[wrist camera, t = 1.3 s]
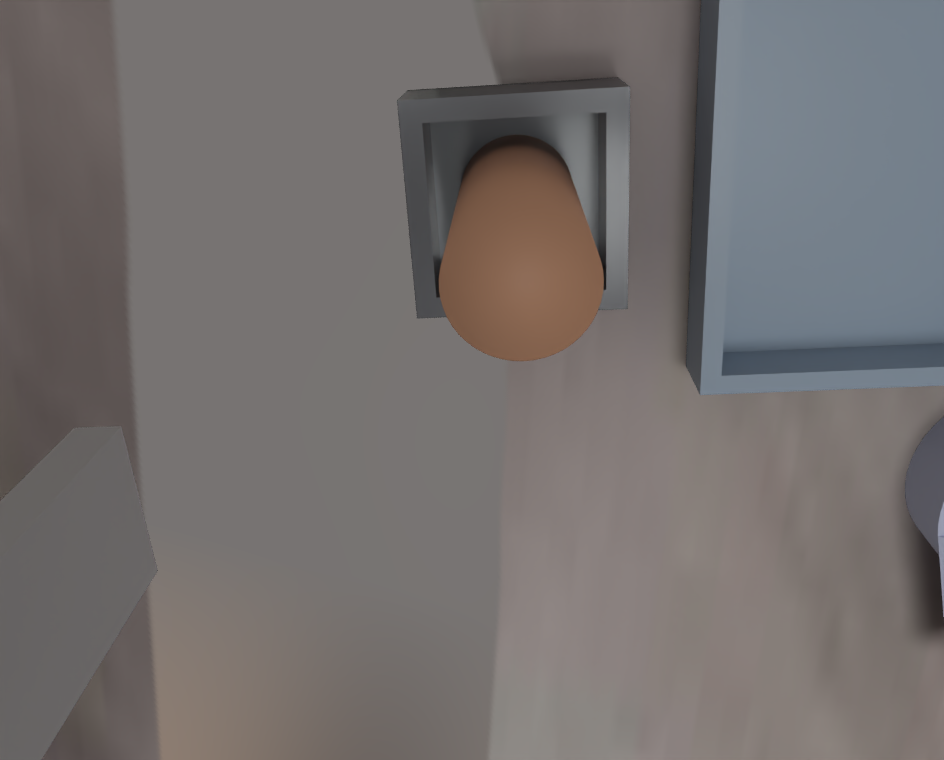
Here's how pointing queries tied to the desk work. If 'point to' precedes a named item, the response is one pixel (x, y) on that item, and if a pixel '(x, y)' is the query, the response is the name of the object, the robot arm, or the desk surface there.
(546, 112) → the grey square open box
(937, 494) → the wedge on round base
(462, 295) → the dowel
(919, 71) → the tray
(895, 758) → the desk surface
